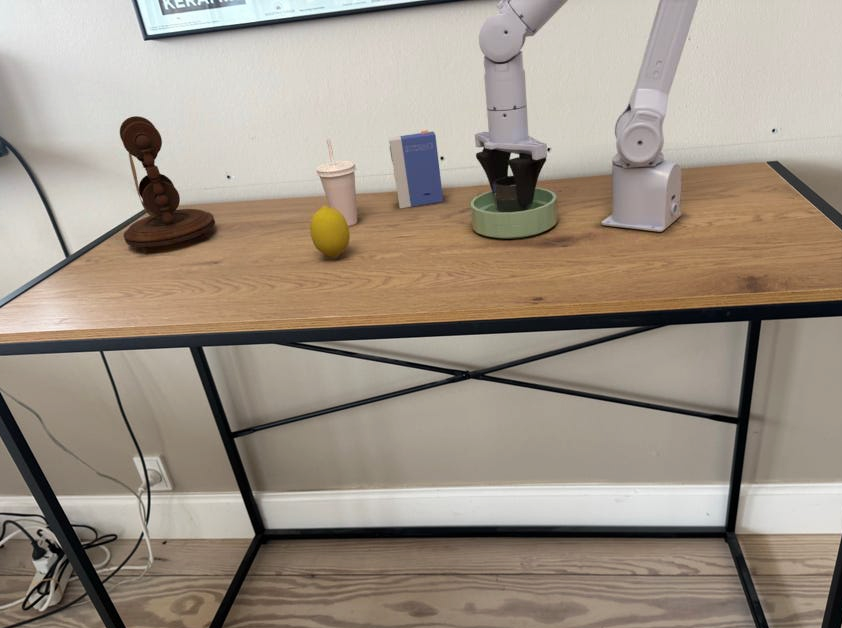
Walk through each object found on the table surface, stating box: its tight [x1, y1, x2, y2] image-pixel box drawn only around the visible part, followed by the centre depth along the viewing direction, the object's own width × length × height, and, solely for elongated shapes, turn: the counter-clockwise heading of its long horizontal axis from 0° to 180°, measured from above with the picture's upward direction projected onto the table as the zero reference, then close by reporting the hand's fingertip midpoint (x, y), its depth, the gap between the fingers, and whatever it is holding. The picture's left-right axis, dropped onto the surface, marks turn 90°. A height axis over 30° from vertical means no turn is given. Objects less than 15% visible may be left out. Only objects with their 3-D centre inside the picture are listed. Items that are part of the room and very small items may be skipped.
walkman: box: [388, 129, 444, 209], centre depth 120 cm, size 8×3×12 cm, turn 99°
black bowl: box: [493, 175, 532, 212], centre depth 105 cm, size 6×6×4 cm
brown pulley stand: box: [119, 115, 216, 255], centre depth 115 cm, size 15×15×20 cm
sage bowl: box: [470, 187, 558, 240], centre depth 107 cm, size 13×13×4 cm
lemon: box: [309, 205, 350, 259], centre depth 101 cm, size 6×6×8 cm
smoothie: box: [315, 138, 358, 227], centre depth 114 cm, size 6×6×14 cm
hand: (512, 200), depth 106 cm, fingers closed on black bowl, 6 cm apart
